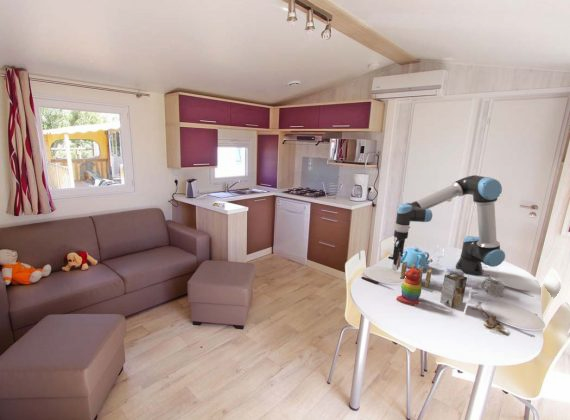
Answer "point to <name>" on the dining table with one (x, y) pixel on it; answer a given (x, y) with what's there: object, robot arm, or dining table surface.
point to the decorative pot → (415, 257)
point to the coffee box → (453, 290)
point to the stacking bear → (411, 288)
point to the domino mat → (430, 288)
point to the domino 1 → (398, 260)
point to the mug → (494, 287)
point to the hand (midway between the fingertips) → (396, 267)
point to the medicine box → (454, 271)
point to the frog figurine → (495, 326)
